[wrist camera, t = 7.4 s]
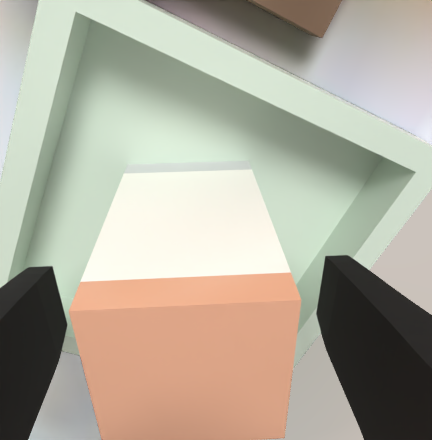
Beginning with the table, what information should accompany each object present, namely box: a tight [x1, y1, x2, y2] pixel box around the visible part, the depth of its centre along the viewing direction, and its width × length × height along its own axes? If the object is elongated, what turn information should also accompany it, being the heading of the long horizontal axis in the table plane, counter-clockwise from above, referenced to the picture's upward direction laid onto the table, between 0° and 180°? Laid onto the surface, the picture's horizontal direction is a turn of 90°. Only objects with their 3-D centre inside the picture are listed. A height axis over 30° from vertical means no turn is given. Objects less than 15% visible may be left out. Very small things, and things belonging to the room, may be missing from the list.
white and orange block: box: [69, 161, 301, 440], centre depth 11 cm, size 4×4×7 cm
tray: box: [0, 0, 432, 368], centre depth 13 cm, size 12×12×2 cm
